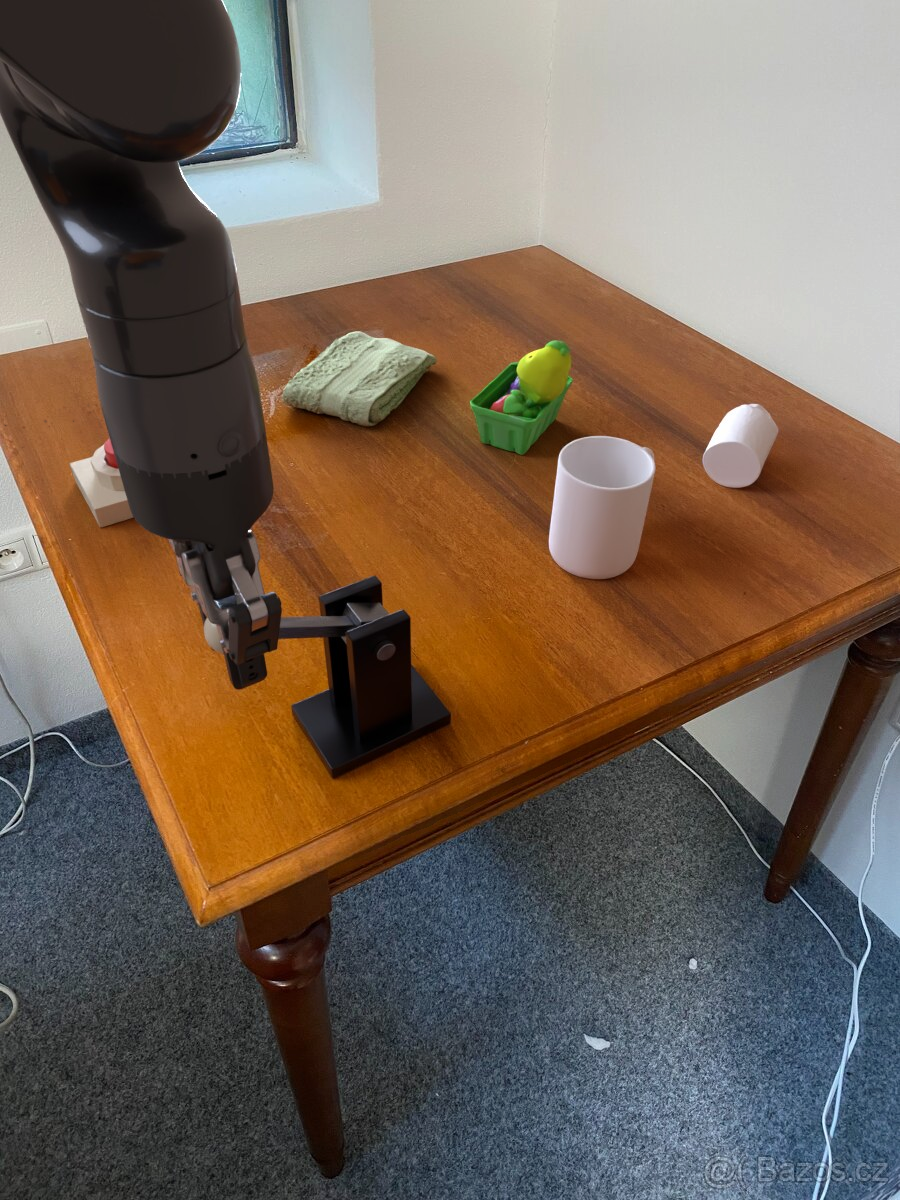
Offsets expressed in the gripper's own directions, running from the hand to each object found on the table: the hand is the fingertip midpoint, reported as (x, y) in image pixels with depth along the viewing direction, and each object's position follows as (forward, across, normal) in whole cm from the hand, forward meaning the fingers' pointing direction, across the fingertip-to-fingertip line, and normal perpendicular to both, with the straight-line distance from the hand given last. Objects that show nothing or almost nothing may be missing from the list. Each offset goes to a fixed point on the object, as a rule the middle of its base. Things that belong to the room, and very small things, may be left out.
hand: (237, 661), depth 55 cm
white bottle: (+12, -12, +60) cm, 62 cm away
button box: (+11, -38, +3) cm, 40 cm away
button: (+8, -39, +3) cm, 39 cm away
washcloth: (+12, -46, +32) cm, 57 cm away
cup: (+12, -8, +38) cm, 41 cm away
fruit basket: (+12, -28, +43) cm, 52 cm away
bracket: (+11, 0, +9) cm, 15 cm away
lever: (+1, 0, +4) cm, 4 cm away
